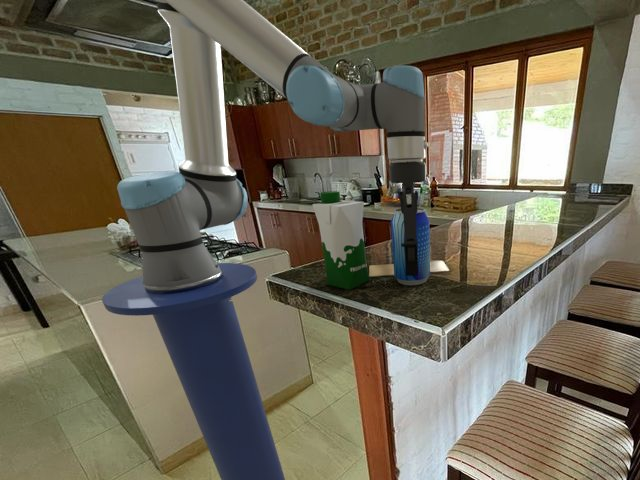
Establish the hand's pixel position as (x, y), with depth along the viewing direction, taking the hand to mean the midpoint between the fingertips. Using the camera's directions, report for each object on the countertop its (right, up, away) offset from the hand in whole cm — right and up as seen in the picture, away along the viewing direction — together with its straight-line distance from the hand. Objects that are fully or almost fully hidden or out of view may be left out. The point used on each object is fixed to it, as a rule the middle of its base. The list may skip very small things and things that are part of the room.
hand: (411, 268), depth 77 cm
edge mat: (-1, +1, +9) cm, 9 cm away
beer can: (0, -3, +1) cm, 3 cm away
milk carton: (-15, -3, +1) cm, 15 cm away
